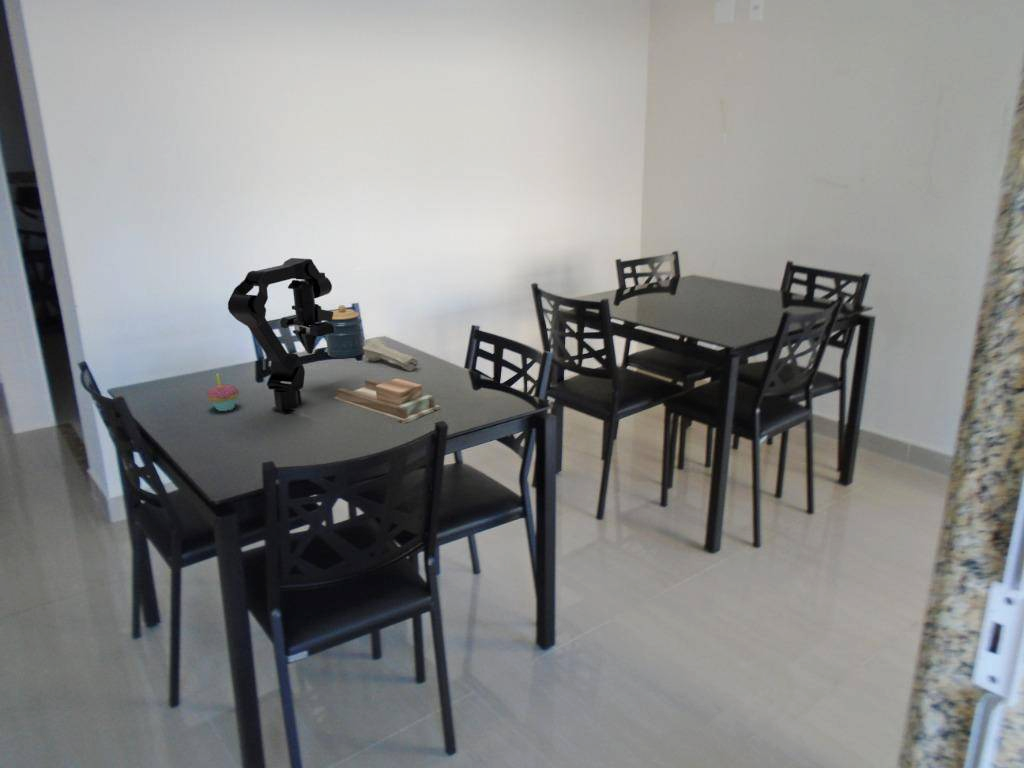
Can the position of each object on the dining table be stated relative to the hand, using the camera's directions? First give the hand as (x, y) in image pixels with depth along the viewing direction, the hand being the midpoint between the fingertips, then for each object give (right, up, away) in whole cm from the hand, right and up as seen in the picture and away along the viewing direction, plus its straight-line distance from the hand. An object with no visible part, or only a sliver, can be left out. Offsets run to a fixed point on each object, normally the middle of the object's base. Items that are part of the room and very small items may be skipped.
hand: (310, 353), depth 220 cm
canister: (0, +2, +45) cm, 45 cm away
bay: (+23, -15, -5) cm, 28 cm away
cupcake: (-23, -16, -6) cm, 29 cm away
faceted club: (+19, -3, +31) cm, 37 cm away
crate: (+28, -15, -9) cm, 33 cm away
